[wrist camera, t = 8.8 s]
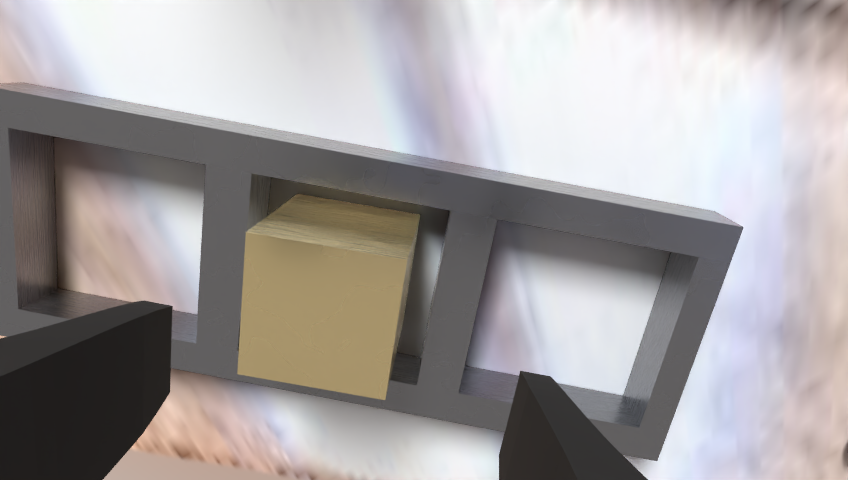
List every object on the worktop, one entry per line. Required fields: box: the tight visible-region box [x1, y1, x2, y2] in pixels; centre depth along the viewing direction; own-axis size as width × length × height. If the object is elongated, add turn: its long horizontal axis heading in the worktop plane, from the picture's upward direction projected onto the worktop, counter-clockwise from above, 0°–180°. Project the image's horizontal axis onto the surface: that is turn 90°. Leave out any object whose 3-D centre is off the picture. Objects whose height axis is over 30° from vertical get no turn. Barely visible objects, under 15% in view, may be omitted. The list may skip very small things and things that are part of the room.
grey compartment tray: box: [0, 83, 743, 461], centre depth 19 cm, size 24×9×2 cm, turn 80°
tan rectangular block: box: [237, 194, 421, 400], centre depth 18 cm, size 4×4×5 cm
